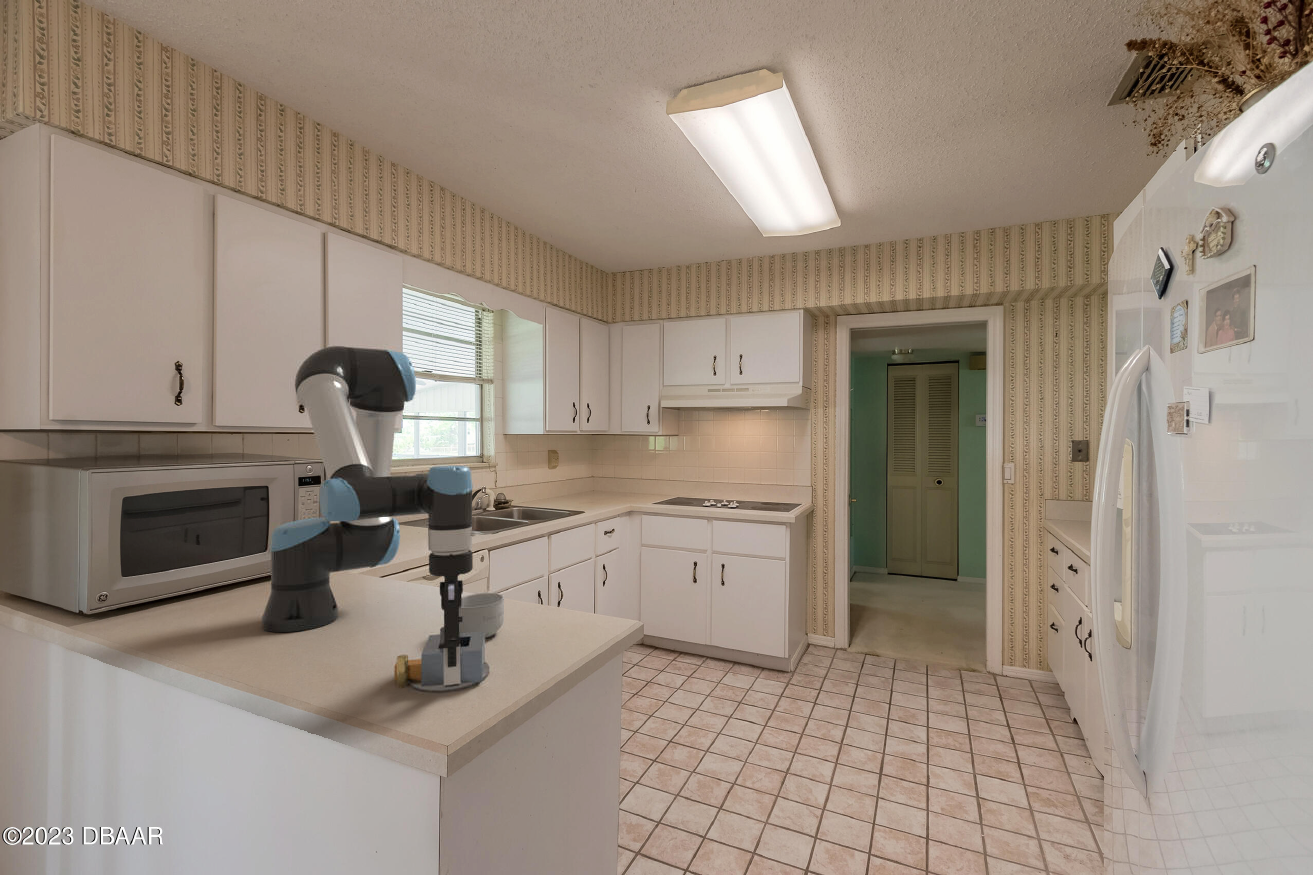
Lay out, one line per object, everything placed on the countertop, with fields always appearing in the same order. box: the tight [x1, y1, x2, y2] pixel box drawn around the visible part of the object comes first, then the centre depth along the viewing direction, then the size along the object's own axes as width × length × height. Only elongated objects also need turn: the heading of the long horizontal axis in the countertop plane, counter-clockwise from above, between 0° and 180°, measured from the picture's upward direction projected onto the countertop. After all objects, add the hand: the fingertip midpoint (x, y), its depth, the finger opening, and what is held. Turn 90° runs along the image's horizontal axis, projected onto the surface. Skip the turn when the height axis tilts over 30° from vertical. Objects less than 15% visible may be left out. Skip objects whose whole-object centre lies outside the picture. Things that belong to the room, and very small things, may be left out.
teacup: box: [459, 590, 505, 639], centre depth 131 cm, size 14×11×8 cm
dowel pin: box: [396, 654, 409, 688], centre depth 104 cm, size 2×2×5 cm
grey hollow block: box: [394, 631, 486, 687], centre depth 107 cm, size 15×10×6 cm, turn 103°
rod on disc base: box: [408, 626, 490, 693], centre depth 108 cm, size 14×14×9 cm
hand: (452, 670), depth 108 cm, fingers open, 11 cm apart
